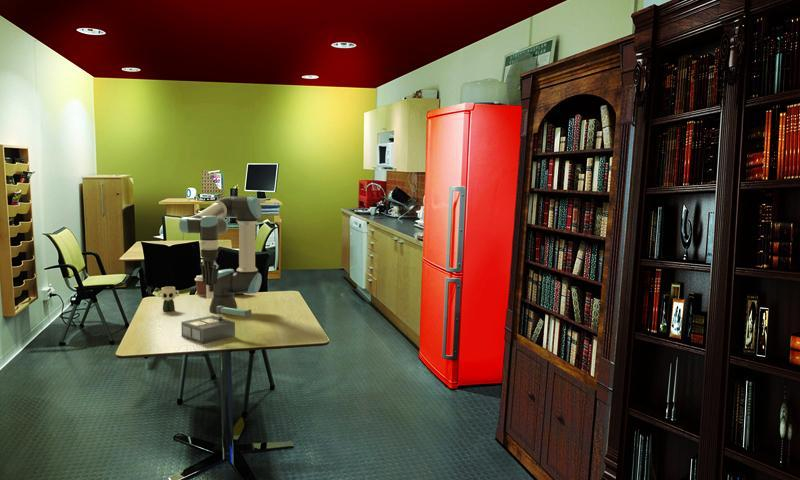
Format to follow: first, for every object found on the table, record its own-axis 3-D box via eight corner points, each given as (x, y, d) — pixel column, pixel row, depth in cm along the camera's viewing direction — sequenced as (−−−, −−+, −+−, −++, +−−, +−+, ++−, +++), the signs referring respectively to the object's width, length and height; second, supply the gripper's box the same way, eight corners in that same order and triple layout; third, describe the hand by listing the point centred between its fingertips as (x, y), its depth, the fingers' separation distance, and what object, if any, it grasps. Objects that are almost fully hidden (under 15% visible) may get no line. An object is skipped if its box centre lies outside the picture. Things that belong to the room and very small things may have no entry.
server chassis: (181, 336, 266) (180, 315, 264) (213, 329, 279) (213, 308, 278) (202, 344, 254) (202, 322, 253) (234, 336, 268) (234, 315, 267)
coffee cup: (191, 295, 354) (191, 276, 352) (201, 292, 362) (201, 274, 361) (203, 296, 350) (203, 277, 349) (213, 294, 359) (212, 275, 358)
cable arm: (215, 312, 270) (215, 306, 270) (219, 311, 273) (219, 305, 272) (247, 317, 262) (247, 311, 262) (251, 316, 265) (251, 309, 265)
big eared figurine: (157, 312, 308) (157, 289, 307) (158, 309, 315) (158, 286, 314) (178, 311, 312) (178, 288, 310) (179, 308, 318) (179, 286, 317)
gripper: (194, 247, 264) (195, 297, 267) (210, 250, 256) (210, 301, 259) (208, 246, 270) (209, 294, 273) (224, 249, 262) (224, 299, 264)
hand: (209, 298), depth 266 cm, fingers closed
